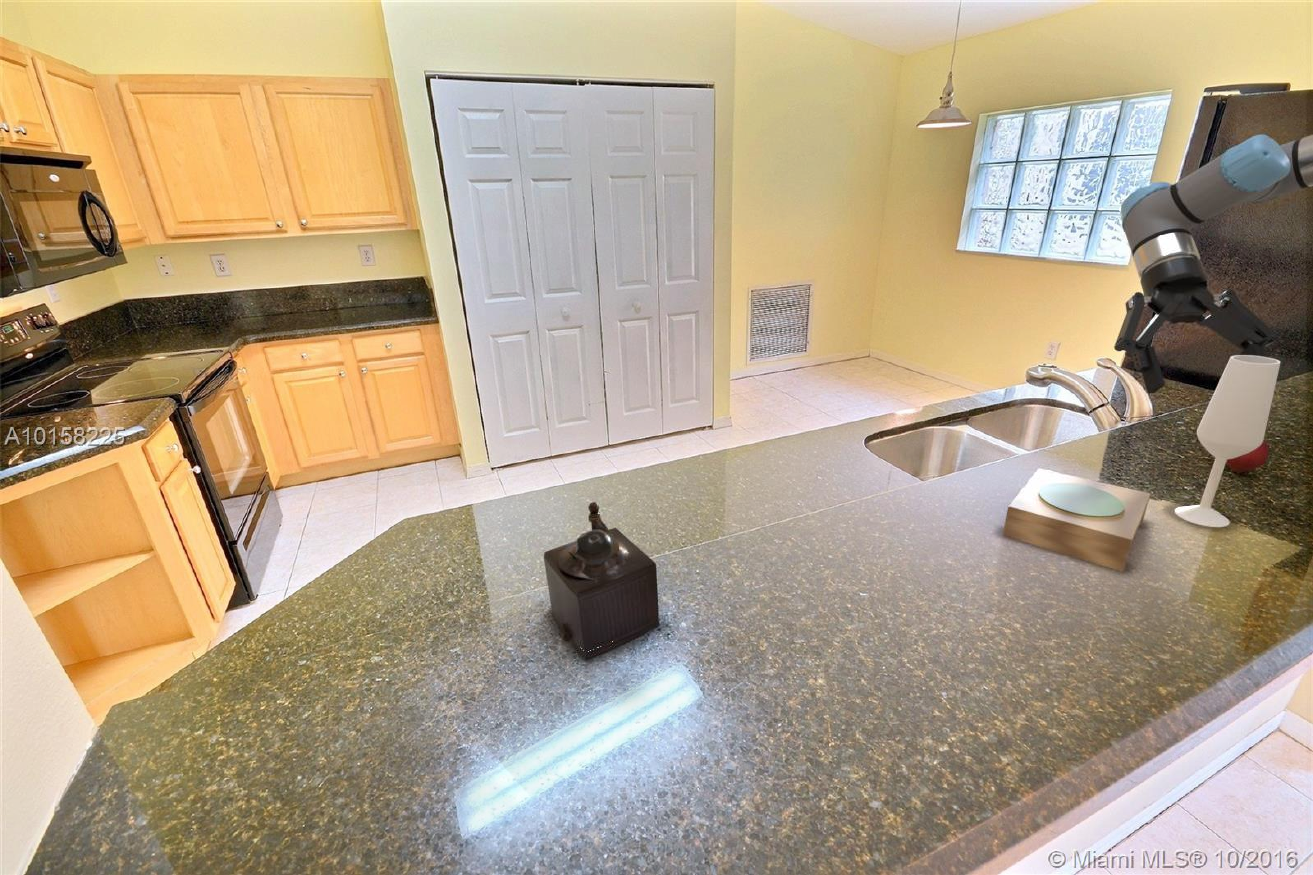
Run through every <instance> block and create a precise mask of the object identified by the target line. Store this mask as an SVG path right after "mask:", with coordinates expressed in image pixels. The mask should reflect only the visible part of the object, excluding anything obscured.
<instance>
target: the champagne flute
mask: <svg viewBox="0 0 1313 875" xmlns="http://www.w3.org/2000/svg"><path fill="white" fill-rule="evenodd" d="M1268 357H1269V356H1268ZM1268 357H1262V356H1252V355H1239V354H1235V355H1232V356H1230V357H1229V359H1228V362H1227V364H1226V366H1225V368H1224V371H1223V373H1222V375H1221V377H1220V378H1219V381H1218V383H1217V386H1216V387H1215V390H1214V391H1213V392H1214V393H1213V394H1212V396H1211V398H1210V401H1209V403H1208V405H1207V407H1206V410H1205V412H1204V414H1203V416H1202V418H1201V421H1200V423H1199V425H1198V426H1197V429H1196V436H1197V438H1198V441H1199V443H1200V444H1201V446H1203V448H1204V449H1205V450H1206V451H1207V452H1208V453H1209V454H1210V455H1211V456H1213V457H1215V459H1214V462H1213V464H1212V467H1211V471H1210V473H1209V476H1208V480H1207V482H1206V486H1205V489H1204V491H1203V494H1202V496H1201V500H1200V503H1199V504H1196V505H1187V506H1179V507H1177V508H1175V509H1174V513H1175V515H1177V517H1179V518H1181V519H1183V520H1184V521H1187V522H1188V523H1189V522H1190V523H1192V524H1195V525H1199V526H1204V527H1211V528H1224V527H1227V526H1229V525H1230V520H1229V519H1228V518H1227V517H1226V516H1224V515H1223V514H1221V513H1220V512H1218V511H1217V510H1216V509H1214V508H1212V504H1213V502H1214V499H1215V496H1216V493H1217V490H1218V487H1219V484H1220V481H1221V479H1222V475H1223V472H1224V469H1225V466H1226V461H1227V459H1233V458H1236V457H1239V456H1242V455H1244V454H1247V453H1249V452H1251V451H1253V450H1255V449H1256V448H1258V447H1259V446H1260V445H1261V444H1262V442H1263V439H1264V440H1265V435H1266V430H1267V425H1268V420H1269V415H1270V412H1271V408H1272V402H1273V399H1274V394H1275V389H1276V384H1277V380H1278V375H1279V371H1280V366H1281V361H1280V360H1278V359H1276V358H1272V357H1269V358H1268Z"/></svg>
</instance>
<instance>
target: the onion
mask: <svg viewBox="0 0 1313 875" xmlns="http://www.w3.org/2000/svg"><path fill="white" fill-rule="evenodd" d="M1269 455H1270V447H1269V444H1268V443H1267V442H1266V440H1265V438H1264V439H1263V442H1262V444H1261V445H1260V446H1259V447H1258V448H1256V449H1255V450H1253V451H1251V452H1249V453H1247V454H1244V455H1242V456H1239V457H1236V458H1233V459H1227V461H1226V464H1225V466H1227V467H1228V468H1229V469H1230V470H1231V471H1232V472H1234V473H1238V474H1241V473H1245V472H1249V471H1253V470H1255V469H1258V468H1260V467H1262V466H1263V465H1265V463H1266V462H1267V461H1268V459H1269Z"/></svg>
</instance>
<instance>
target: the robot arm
mask: <svg viewBox="0 0 1313 875" xmlns="http://www.w3.org/2000/svg"><path fill="white" fill-rule="evenodd" d="M1311 187H1313V134H1310V135H1307V136H1305V137H1302V138H1298V139H1295V140H1292V141H1288V142H1286V143H1283V144H1279V143H1278V142H1277V141H1276V140H1275V139H1274V138H1271V137H1270V136H1268V135H1266V134H1256V135H1253V136H1251V137H1250V138H1248V139H1246V140H1245V141H1244V140H1243V141H1242V142H1241V143H1239V144H1238V145H1234V146H1232V147H1230V148H1228V149H1227V150H1226V151H1225V152H1224V153H1221V155H1219V156H1217V157H1215V158H1214V159H1213V160H1211V161H1210V162H1207V163H1206V164H1204V165H1203V166H1201V167H1199V168H1198V169H1196V170H1195V171H1193V172H1192V173H1190V174H1188V175H1187V176H1185V177H1183V178H1182V179H1180V180H1178V181H1176V182H1175V183H1173V184H1171V183H1170V182H1168V181H1155V182H1151V183H1149V184H1148V185H1147V186H1140V187H1138V188H1136V189H1133V191H1132V192H1130V193H1129V194H1128V195H1126V197H1124V199H1123V200H1122V202H1121V204H1120V207H1119V215H1120V219H1121V229H1122V230H1123V232H1124V234H1125V237H1126V240H1127V243H1128V246H1129V249H1130V252H1131V255H1132V256H1131V257H1132V259H1133V262H1134V266H1135V268H1136V272H1137V275H1138V278H1139V280H1140V281H1139V282H1140V286H1141V289H1142V292H1143V293H1142V292H1140V291H1136V292H1135V293H1133V295H1132V296H1131V297H1130V298H1129V299H1128V300H1127V301H1125V310H1126V314H1125V317H1124V319H1123V322H1122V325H1121V327H1120V330H1119V333H1118V336H1117V338H1116V341H1115V343H1114V347H1113V348H1114V350H1115V351H1116V352H1122V351H1124V352H1125V353H1124V354H1125V356H1126V357H1127V358H1132V362H1133V364H1134V369H1135V370H1136V371H1137V372H1141V374H1142V375H1141V376H1142V377H1143V381H1144V385H1145V388H1146V392H1147V394H1155V393H1156V392H1158V391H1159V390H1161V389H1162V388H1164V387H1165V386H1166V383H1165V379H1164V375H1163V373H1162V369H1161V365H1160V363H1159V359H1158V356H1157V352H1156V349H1155V346H1154V345H1153V346H1151V345H1148V344H1149V342H1150V341H1151V340H1152V339H1153V338H1154V336H1155V335H1156V333H1158V331H1159V330H1160V329H1161V328H1162V326H1163V325H1164V324H1165V322H1168V323H1169V324H1179V323H1183V324H1193V323H1196V324H1197V325H1199V326H1200V327H1207V328H1208V329H1210V330H1211V331H1213V332H1215V333H1216V334H1217V335H1219V336H1221V337H1222V338H1224V339H1225V340H1226V341H1228V342H1229V343H1231V344H1233V345H1234V346H1236V347H1237V348H1239V349H1240V350H1242V351H1241V352H1239V353H1238V355H1252V356H1262V357H1268V358H1270V357H1269V355H1268V352H1267V350H1266V348H1267V347H1269V346H1271V345H1272V344H1274V343H1275V342H1276V341H1278V340H1279V338H1280V337H1279V335H1278V334H1277V333H1276V332H1275V331H1273V330H1272V329H1271V327H1269V326H1268V325H1267V324H1266V323H1265V322H1263V320H1262V319H1260V317H1258V316H1257V315H1256V314H1255V313H1254V312H1253V311H1252V310H1250V309H1249V307H1247V306H1246V305H1245V304H1244V303H1243V302H1242V301H1241V300H1240V298H1239V296H1238V295H1237V293H1236V291H1235V290H1234V289H1231V288H1228V289H1226V290H1225V291H1224V292H1222V293H1214V294H1213V292H1211V291H1210V290H1209V289H1208V282H1209V281H1208V280H1209V279H1208V275H1207V272H1206V269H1205V267H1204V264H1203V262H1202V261H1201V255H1200V253H1199V250H1198V247H1197V245H1196V243H1195V240H1194V237H1193V233H1192V231H1191V229H1193V228H1194V227H1196V226H1198V225H1200V224H1203V223H1204V222H1206V221H1207V220H1209V219H1211V218H1213V217H1215V216H1217V215H1218V214H1221V213H1222V212H1225V211H1226V210H1228V209H1230V208H1233V207H1234V206H1237V205H1244V204H1260V203H1264V202H1269V201H1272V200H1275V199H1277V198H1279V197H1282V196H1284V195H1288V194H1292V193H1295V192H1298V191H1301V190H1305V189H1309V188H1311ZM1146 307H1147V308H1148V309H1149V310H1151V311H1152V312H1153V313H1155V315H1154V316H1153V317H1152V319H1151V320H1150V321H1149V322H1148V324H1147V325H1146V327H1145V328H1144V329H1143V331H1142V332H1141V333H1140V334H1139V336H1138V337H1137V338H1136V339H1134V338H1135V335H1136V332H1137V329H1138V327H1139V323H1140V320H1141V318H1142V315H1143V312H1144V310H1145V308H1146ZM1207 312H1209V313H1210V314H1209V315H1208V316H1205V315H1206V314H1207ZM1147 345H1148V346H1147ZM1146 346H1147V347H1146Z"/></svg>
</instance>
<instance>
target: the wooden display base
mask: <svg viewBox="0 0 1313 875" xmlns="http://www.w3.org/2000/svg"><path fill="white" fill-rule="evenodd" d="M1151 496H1152V493H1150V492H1145V491H1142V490H1136V489H1133V488H1129V487H1128V488H1127V487H1122V486H1119V485H1116V484H1115V485H1114V484H1110V483H1105V482H1101V481H1096V480H1092V479H1088V478H1083V477H1079V476H1075V475H1072V474H1071V475H1070V474H1066V473H1061V472H1057V471H1052V470H1047V469H1043V468H1037V470H1036V471H1035V473H1034V474H1033V475H1032V476H1031V477H1030V479H1029V480H1027V483H1025V485H1024V486H1023V487H1022V489H1021V490H1020V491H1019V492H1018V494H1017V495H1016V496H1015V497H1014V498H1013V500H1012V501H1011V502H1010V503H1009V504H1008V506H1007V511H1006V516H1005V521H1004V526H1003V531H1002V536H1003V537H1007V538H1011V539H1014V540H1017V541H1020V542H1024V543H1027V544H1030V545H1034V546H1036V547H1040V548H1044V549H1047V550H1050V551H1054V552H1057V553H1060V554H1063V555H1067V556H1070V557H1072V558H1077V559H1080V560H1083V561H1086V562H1089V563H1092V564H1096V565H1099V566H1102V567H1106V568H1110V569H1113V570H1115V571H1119V572H1124V571H1125V568H1126V566H1127V561H1128V558H1129V555H1130V551H1131V548H1132V545H1133V542H1134V540H1135V537H1136V535H1137V533H1138V530H1139V527H1142V525H1143V523H1144V518H1145V515H1146V512H1147V508H1148V505H1149V502H1150V498H1151Z"/></svg>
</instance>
